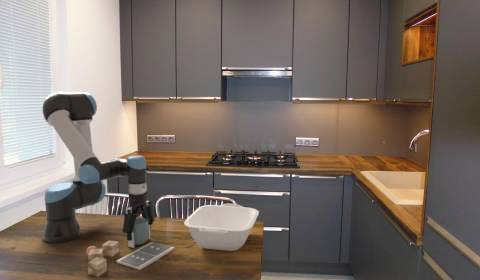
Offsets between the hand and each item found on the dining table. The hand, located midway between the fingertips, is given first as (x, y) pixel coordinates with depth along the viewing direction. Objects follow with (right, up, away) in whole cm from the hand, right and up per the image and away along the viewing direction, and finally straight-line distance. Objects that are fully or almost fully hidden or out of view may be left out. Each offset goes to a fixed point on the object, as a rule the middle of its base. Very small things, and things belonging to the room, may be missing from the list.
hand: (139, 242), depth 154 cm
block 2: (-8, +1, -25) cm, 27 cm away
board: (+6, -2, -12) cm, 13 cm away
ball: (-16, -2, -12) cm, 20 cm away
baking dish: (+36, -1, 0) cm, 36 cm away
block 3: (-9, -2, -10) cm, 13 cm away
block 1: (-12, -3, -17) cm, 21 cm away
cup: (0, 0, 0) cm, 1 cm away
